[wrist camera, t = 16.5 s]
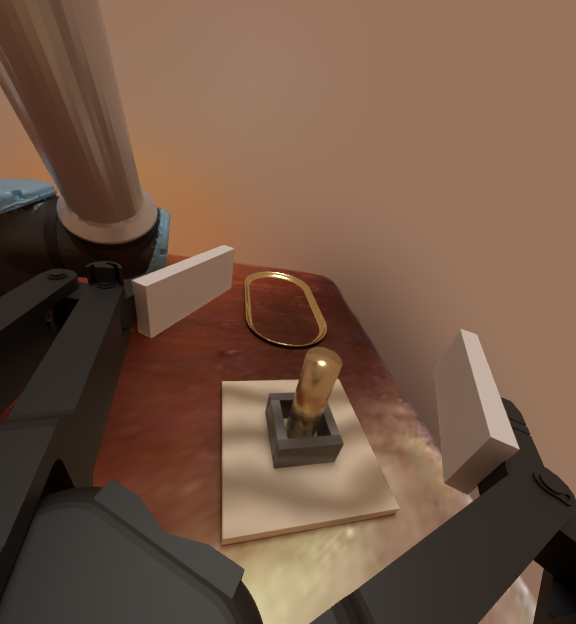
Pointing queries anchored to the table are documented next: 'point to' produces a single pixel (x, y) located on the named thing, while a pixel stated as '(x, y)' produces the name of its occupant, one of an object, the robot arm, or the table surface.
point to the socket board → (294, 465)
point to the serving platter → (308, 294)
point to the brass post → (312, 392)
